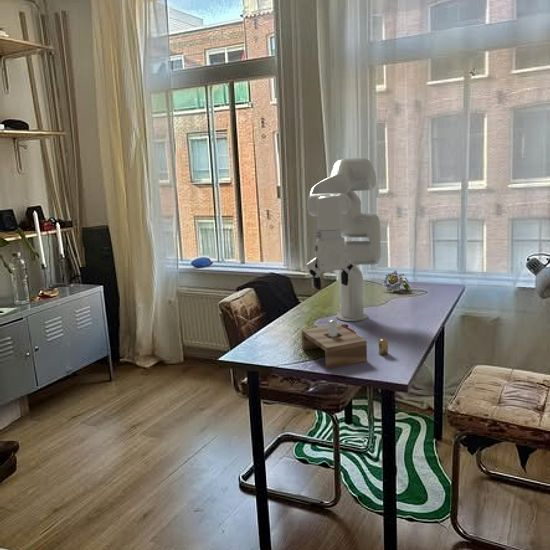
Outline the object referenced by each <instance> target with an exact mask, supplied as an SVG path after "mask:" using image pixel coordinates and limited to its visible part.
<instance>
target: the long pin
mask: <svg viewBox="0 0 550 550" xmlns="http://www.w3.org/2000/svg"><path fill="white" fill-rule="evenodd" d="M337 322H338V319H331V318H330V319H328V320H327V326H328V338H335V337H338V336H337Z"/></svg>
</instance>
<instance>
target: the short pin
mask: <svg viewBox="0 0 550 550" xmlns="http://www.w3.org/2000/svg"><path fill="white" fill-rule="evenodd" d="M378 355H379V356H387V355H389V339H388V338H385V337H381V338H379V339H378Z"/></svg>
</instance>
